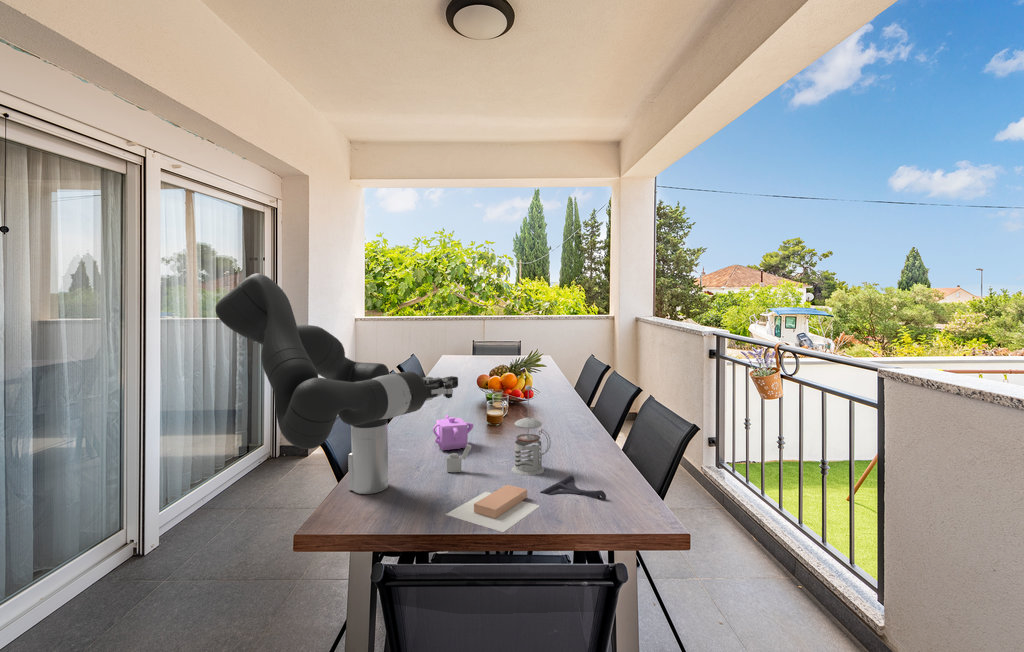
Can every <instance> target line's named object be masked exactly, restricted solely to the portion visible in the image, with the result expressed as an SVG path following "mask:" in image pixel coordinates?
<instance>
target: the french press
mask: <svg viewBox="0 0 1024 652" xmlns="http://www.w3.org/2000/svg"><path fill="white" fill-rule="evenodd" d="M524 389H525V390H526V391H527V417H524V418H521V419H517V420H516V421H515V422H514V423H513V424H514V426H515V427H516V428H519V429H527V431H529V429H531V430H533V429H538V428H540V427H541V426H542V425H543V423H542V422H541V421H540V420H539V419H537V418H533V417H529V415H530V414H529V413H530V411H529V409H530V407H529V404H530V403H529V402H530V399H529V397H530V395H529V394H530V393H529V391H530V390H532V386H531V385H529V384H527V385H525V388H524ZM542 434H543V435H544V436H545V438H546V441H547V446H546V449H545V451H544V452H543V453H542V441H541V440H540V439H541V435H542ZM515 437H516V438H515V439H516V440H515V443H514V465H513V467H511V472H512V471H513V473H514V472H515V473H514V474H516V473H517V475H519V474H520V476H527V475H529V476H537V475H536V474H538V475H541V474H543V473H544V472H545V471H544V469H545V468H544V467H543V466H542V463H543V461H542V460H543V459H542V458H543V457H542V456H543V455H545V454H547V453H548V452H549V450H550V448H551V444H549V443H551V441H552V440H551V437H550V435H549V433H548V432H547V431H546V430H545V429H543V428H541V429H540V430H539V431H538V434H534V433H524V434H523V433H520V434H518V435H516V436H515ZM527 450H528V451H527ZM522 455H523V456H522ZM524 459H525V460H524Z"/></svg>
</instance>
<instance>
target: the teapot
mask: <svg viewBox="0 0 1024 652" xmlns="http://www.w3.org/2000/svg"><path fill="white" fill-rule="evenodd" d="M444 417H445V418H440V419H436V424H435V425H434V426H433V427H432V432H433V434H434V436H435V438H434V442H435V443H436V444H437V445H438V446H439V448H440V449H441V451H444V450H448V451H449V450H461V449H460V448H463V449H465V448H466V446H467V444H469V442H468V434H470V432H471V431H472V430H473V429H474V427H475V426H474V423H472V422H465V420H464V419H462V418H461V417H455V416H451V417H450V416H449V414H445V416H444Z"/></svg>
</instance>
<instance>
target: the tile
mask: <svg viewBox="0 0 1024 652" xmlns="http://www.w3.org/2000/svg"><path fill="white" fill-rule="evenodd" d="M491 493H492V494H490V495H488V496H486V497H485V498H483V499H481V500H479V501H478V502H476V503H474V512H475V513H478V514H482V515H485V516H489V517H492V518H497V517H498V516H500V515H501V514H503V513H504V512H506V511H507V510H509V509H510V508H512V507H513V506H515V505H516V504H518V503H519V502H521V501H524V500H525V499H527V498H528V489H526V488H523V487H519V486H514V485H511V484H506V485H504V486H502V487H500V488H499V489H496V490H495V491H494V492H491Z"/></svg>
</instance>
